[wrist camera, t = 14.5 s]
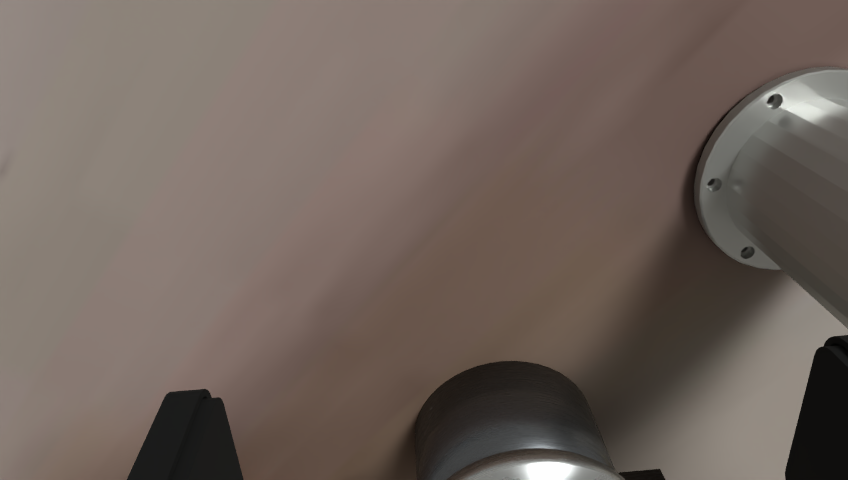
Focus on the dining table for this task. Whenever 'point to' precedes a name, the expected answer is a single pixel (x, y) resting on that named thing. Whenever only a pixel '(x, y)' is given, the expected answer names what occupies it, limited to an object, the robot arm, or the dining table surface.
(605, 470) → the lid
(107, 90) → the dining table surface
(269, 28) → the dining table surface
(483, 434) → the pot
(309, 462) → the dining table surface
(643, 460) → the dining table surface
